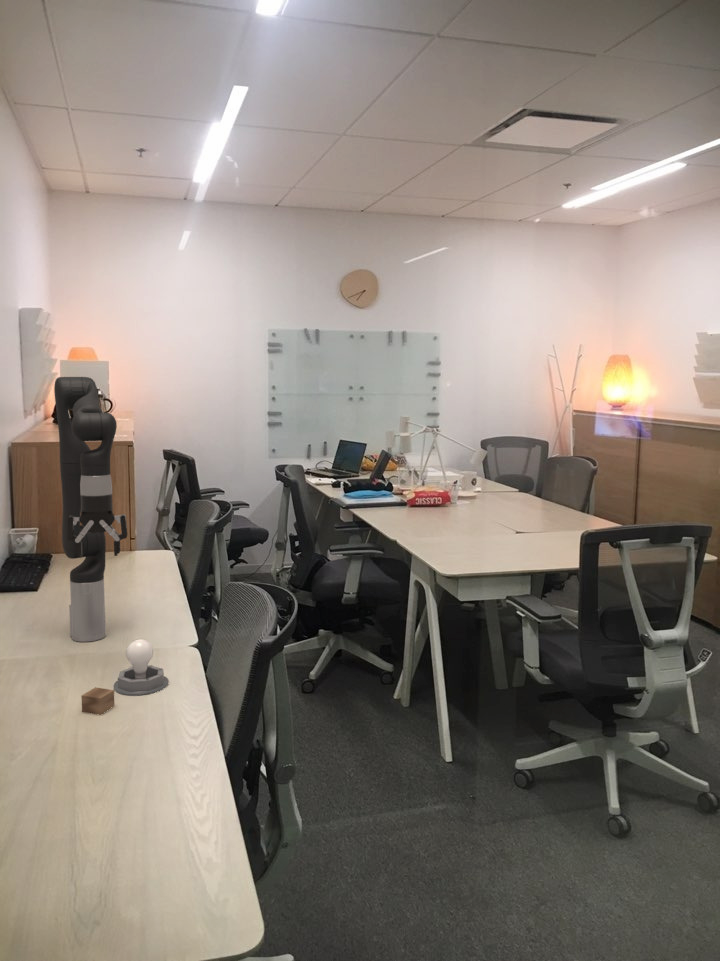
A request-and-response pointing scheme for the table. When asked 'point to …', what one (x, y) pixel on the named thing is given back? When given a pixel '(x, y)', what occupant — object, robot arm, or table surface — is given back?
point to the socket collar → (141, 682)
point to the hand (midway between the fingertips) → (98, 555)
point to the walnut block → (97, 701)
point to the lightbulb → (139, 657)
